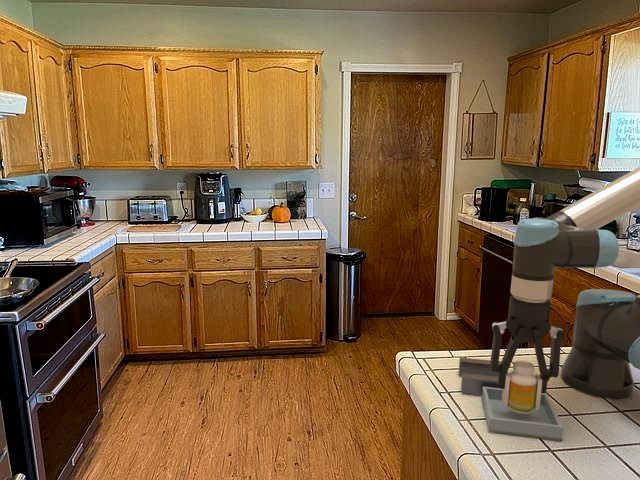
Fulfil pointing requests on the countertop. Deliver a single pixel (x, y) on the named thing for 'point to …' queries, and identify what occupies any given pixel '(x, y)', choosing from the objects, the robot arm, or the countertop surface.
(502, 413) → the grey tray
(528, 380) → the supplement bottle
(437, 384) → the countertop surface
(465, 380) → the steel jaws
